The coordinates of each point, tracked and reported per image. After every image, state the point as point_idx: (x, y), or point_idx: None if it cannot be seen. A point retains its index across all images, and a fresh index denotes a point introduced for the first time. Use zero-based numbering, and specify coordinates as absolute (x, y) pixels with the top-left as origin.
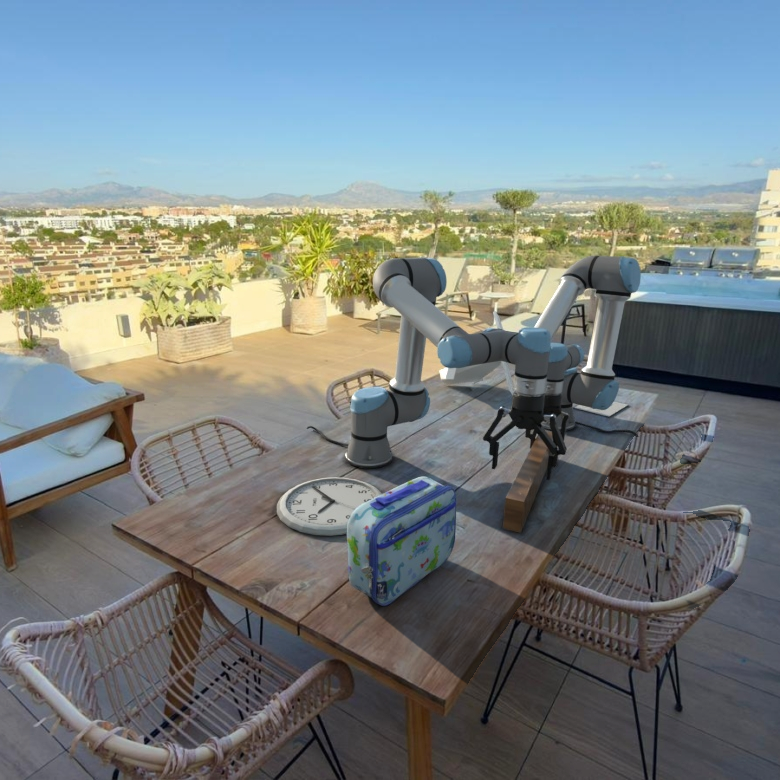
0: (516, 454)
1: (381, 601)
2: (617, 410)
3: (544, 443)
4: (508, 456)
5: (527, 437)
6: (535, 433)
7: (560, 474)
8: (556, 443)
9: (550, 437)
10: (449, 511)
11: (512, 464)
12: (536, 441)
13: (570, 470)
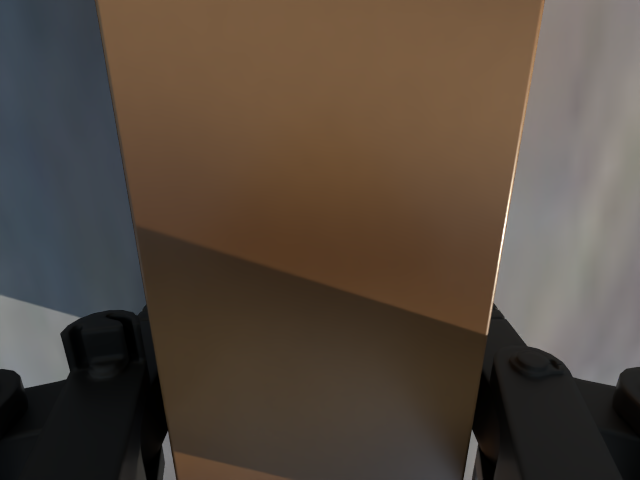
0: (555, 296)
1: None
2: None
3: (238, 59)
4: (632, 223)
5: (634, 372)
6: (547, 469)
7: (87, 27)
8: (90, 358)
9: (205, 472)
10: None
11: (597, 43)
12: (473, 104)
13: (39, 175)
